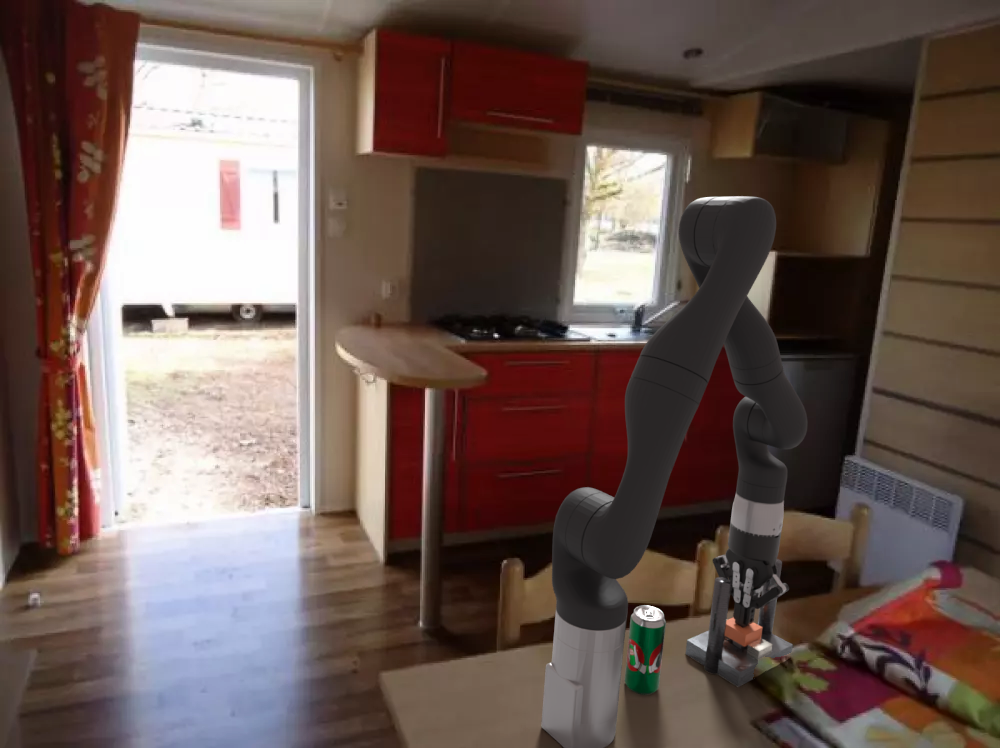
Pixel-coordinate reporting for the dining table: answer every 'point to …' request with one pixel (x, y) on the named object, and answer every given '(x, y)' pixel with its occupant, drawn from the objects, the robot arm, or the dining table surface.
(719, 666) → the twin post stand
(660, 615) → the soda can
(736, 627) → the button
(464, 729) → the dining table surface
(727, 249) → the robot arm
